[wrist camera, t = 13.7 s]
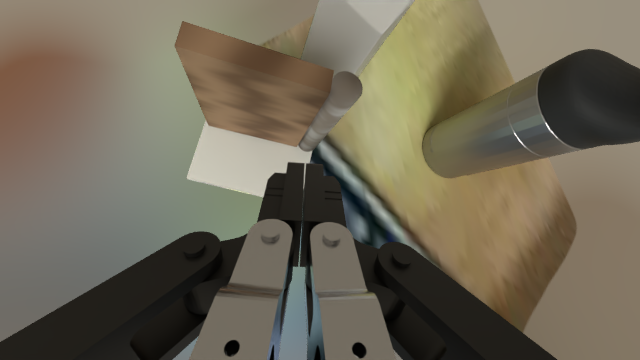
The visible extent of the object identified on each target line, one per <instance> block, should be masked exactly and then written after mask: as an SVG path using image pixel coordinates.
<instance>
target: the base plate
mask: <svg viewBox="0 0 640 360" xmlns="http://www.w3.org/2000/svg"><path fill="white" fill-rule="evenodd" d="M311 154H312V151H310V152H305V151H303V150H301V149H300V147H299V146H298V145H297V147H294V146H290V145H286V144H282V143H277V142H273V141H269V140H265V139H261V138H257V137H253V136H249V135H245V134H240V133H236V132H232V131H228V130H224V129H220V128H216V127H212V126H208V123H207V121H205V124H204V127H203V130H202V133H201V136H200V139H199V142H198V145H197V148H196V151H195V154H194V157H193V161H192V163H191V166H190V169H189V172H188V175H187V179H189V180H193V181H197V182H201V183H205V184H210V185H213V186H218V187H222V188H226V189H230V190H234V191H239V192H243V193H247V194H251V195H255V196H259V197H264V193H265V189H266V185H267V181H268V179H269V178H270V177H271V176H272V175H273V174H274V173H286V171H287V164H288V162H295V163H305V166H304V182H305V169H306V163H310V159H311ZM303 189H304V187H303Z"/></svg>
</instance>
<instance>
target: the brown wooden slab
mask: <svg viewBox="0 0 640 360" xmlns="http://www.w3.org/2000/svg"><path fill="white" fill-rule="evenodd" d="M175 48H176V50H177V52H178V55H179V57H180V60H181V62H182V64H183V67H184V69H185V72H186V74H187V76H188V78H189V81H190V83H191V86H192V88H193V90H194V93H195V95H196V97H197V100H198V102H199V104H200V107H201V109H202V112H203V114H204V116H205V119H206V121H207V123H208V126H212V127H216V128H220V129H224V130H228V131H232V132H236V133H240V134H245V135H249V136H253V137H257V138H261V139H265V140H269V141H273V142H277V143H282V144H286V145H290V146H294V147H297V145H298V146H299V147H300V149H301V150H303V151H305V152H310V151H312V150H314V149H315V147H316V146H317V145H318V144H319V143H320V142H321V141H322V140H323V138H324V137H325V136H326V135H327V134H328V133H329V132H330V130H331V129H332V128H333V127H334V126H335V125H336V124H337V122H338V121H339V120H340V119H341V118H342V117H343V116H344V114H345V113H346V112H347V111H348V110H349V109H350V108H351V106H352V105H353V104H354V103H355V102H356V101H357V100H358V98H359V97H360V96H361V94H362V84H361V81H360V80H359V78H358V77H357V76H356V75H355V74H353V73H351V72H348V71H342V72H339V73H337V74H336V75H335V76H334V78H333V73H334V70H331V69H328V68H325V67H322V66H319V65H316V64H313V63H310V62H307V61H304V60H301V59H298V58H295V57H291V56H288V55H285V54H282V53H279V52H276V51H273V50H270V49H267V48H264V47H261V46H258V45H255V44H251V43H248V42H245V41H242V40H239V39H236V38H233V37H230V36H227V35H224V34H221V33H217V32H214V31H211V30H208V29H205V28H202V27H199V26H196V25H193V24H190V23H187V22H184V21H183V22H182V24H181V27H180V31H179V34H178V37H177V40H176V43H175Z"/></svg>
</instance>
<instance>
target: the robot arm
mask: <svg viewBox="0 0 640 360" xmlns="http://www.w3.org/2000/svg"><path fill="white" fill-rule="evenodd" d="M639 141H640V69H639V68H637V67H635V66H632V65H630V64H629V63H627V62H625V61H623V60H621V59H620V58H618V57H616V56H614V55H612V54H610V53H607V52H605V51H601V50H595V49H587V50H582V51H578V52H575V53H573V54H571V55H568V56H566V57H564V58H562V59H560V60H558V61H557V62H555V63H553V64H551V65H549V66H547V67H546V68H544V69H542V70H540V71H538V72H536V73H534V74H532V75H530V76H528V77H526V78H524V79H523V80H521V81H519V82H517V83H515V84H513V85H511V86H509V87H507V88H506V89H504V90H502V91H500V92H498V93H496V94H494V95H492V96H490V97H488V98H486V99H484V100H483V101H481V102H479V103H477V104H475V105H473V106H471V107H469V108H467V109H465V110H463V111H461V112H460V113H458V114H456V115H454V116H452V117H450V118H448V119H446V120H444V121H442V122H440V123H438V124H437V125H435V126H433V127H432V128H430V129H429V130H428V131H427V133H426V135H425V137H424V140H423V153H424V157H425V160H426V162H427V163H428V165H429V166H430V168H431V169H432V170H433V171H434V172H435V173H437V174H438V175H440V176H442V177H445V178H455V177H460V176H464V175H471V174H475V173H480V172H485V171H489V170H494V169H499V168H503V167H508V166H512V165H517V164H522V163H525V162H529V161H534V160H538V159H543V158H547V157H551V156H556V155H561V154H565V153H570V152H574V151H579V150H583V149H587V148H593V147H597V146H602V145H615V144H616V145H617V144H626V143H633V142H639ZM304 166H305V163H295V162H288V164H287V171H286V173H274V174H273V175H272V176H271V177H270V178H269V179H268V181H267V185H266V189H265V193H264V197H263V201H262V205H261V209H260V213H259V217H258V221H257V223H256V224H254V225H253V226H252V227H251V228H250V230H249V232H248V234H246V235H244V236H241V237H239V238H235V239H230V240H225V241H221V242H220V240H219V239H218V237H217V236H215V235H214V234H212V233H209V232H193V233H189V234H187V235H184V236H183V237H181V238H179V239H177V240H175V241H174V242H172V243H171V244H169V245H167V246H165V247H164V248H162V249H160V250H158V251H156V252H155V253H153V254H151V255H150V256H148V257H146V258H144V259H143V260H141V261H140V262H137V263H136V264H134V265H132V266H131V267H129V268H127V269H125V270H124V271H122V272H120V273H118V274H117V275H115V276H113V277H112V278H110V279H108V280H106V281H105V282H103V283H101V284H100V285H98V286H96V287H94V288H93V289H91V290H89V291H88V292H86V293H84V294H83V295H81V296H79V297H77V298H75V299H74V300H72V301H70V302H69V303H67V304H65V305H63V306H62V307H60V308H58V309H56V310H55V311H53V312H51V313H49V314H48V315H46V316H44V317H43V318H41V319H39V320H37V321H36V322H34V323H32V324H31V325H29V326H27V327H25V328H24V329H22V330H20V331H18V332H17V333H15V334H13V335H12V336H10V337H8V338H7V339H5V340H3V341H1V342H0V360H172V359H173V358H175V357H176V356H177V355H178V354H179V353H180V352H181V351H182V350H183V349H184V348H186V347H187V346H188V345H189V344H190V343H191V342H192V341H193V340H195V339H196V338H197V337H198V336H199V337H198V339H197V341H196V344H195V347H194V349H193V351H192V354H191V357H190V358H189V360H278V359H279V352H280V343H281V336H282V330H283V324H284V318H285V312H286V306H287V300H288V294H289V287H290V282H291V280H292V271H293V266H295V267H298V262H299V250H300V238H301V254H300V267H306V275H305V286H304V289H305V309H306V327H307V360H396V358H395V354H394V351H393V349H394V350H395V352H396V353H397V354H398V355H399V356H400V357H401V358H402V359H403V360H557V359H556V358H554V357H553V356H552V355H551V354H549V353H548V352H547V351H545V350H544V349H543V348H541V347H540V346H539V345H538V344H536V343H535V342H534V341H532V340H531V339H530V338H528V337H527V336H526V335H525V334H523V333H522V332H521V331H519V330H518V329H517V328H515V327H514V326H513V325H512V324H510V323H509V322H508V321H506V320H505V319H504V318H502V317H501V316H500V315H499V314H497V313H496V312H495V311H493V310H492V309H491V308H489V307H488V306H487V305H486V304H484V303H483V302H482V301H480V300H479V299H478V298H476V297H475V296H474V295H473V294H471V293H470V292H469V291H467V290H466V289H465V288H463V287H462V286H461V285H459V284H458V283H457V282H456V281H454V280H453V279H452V278H450V277H449V276H448V275H446V274H445V273H444V272H443V271H441V270H440V269H439V268H437V267H436V266H435V265H433V264H432V263H431V262H430V261H428V260H427V259H426V258H424V257H423V256H422V255H420V254H419V253H418V252H417V251H415V250H414V249H412V248H411V247H409V246H407V245H405V244H402V243H398V242H389V243H386V244H384V245H382V246H381V247H380V249H377V248H374V247H371V246H368V245H365V244H362V243H360V242H358V241H357V240H355V239H354V238H353V237H352V234H351V233H350V231H349V230H348V229H347V227H346V221H345V215H344V208H343V201H342V195H341V188H340V184H339V182H338V181H337V180H336V179H335V177H332V176H323V164H310V163H306V169H305V182H304ZM303 187H304V194H303ZM302 208H303V211H302ZM301 226H302V233H301Z"/></svg>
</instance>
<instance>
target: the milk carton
mask: <svg viewBox="0 0 640 360" xmlns="http://www.w3.org/2000/svg"><path fill="white" fill-rule="evenodd" d="M414 1H415V0H319V1H318V5H317V8H316V11H315V14H314V18H313V21H312V24H311V27H310V30H309V34H308V37H307V40H306V43H305V46H304V50H303V53H302V56H301V60H304V61H307V62H310V63H313V64H316V65H319V66H322V67H325V68H328V69H331V70H334V73H333V78H334V76H335V75H336V74H337V73H339V72H342V71H348V72H351V73H353V74H355V75H356V76H357V77H358V76H359V75H360V74H361V72H362V71H363V70H364V68H365V67H366V66H367V64H368V63H369V61H370V60H371V59H372V57H373V56H374V55H375V53H376V52H377V51H378V49H379V48H380V47H381V45H382V44H383V43H384V41H385V40H386V39H387V37H388V36H389V35H390V33H391V32H392V31H393V29H394V28H395V27H396V25H397V24H398V23H399V21H400V20H401V19H402V17H403V16H404V14H405V13H406V12H407V10H408V9H409V8H410V6H411V5H412V4H413V2H414Z"/></svg>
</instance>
